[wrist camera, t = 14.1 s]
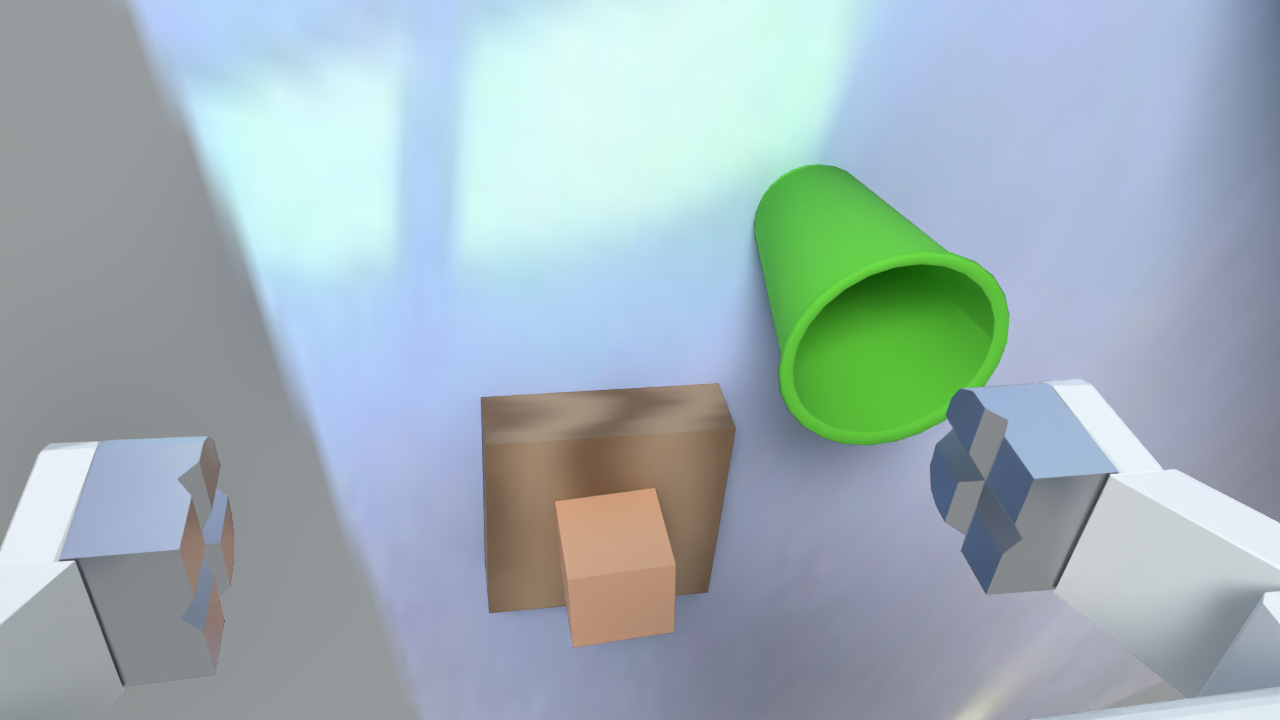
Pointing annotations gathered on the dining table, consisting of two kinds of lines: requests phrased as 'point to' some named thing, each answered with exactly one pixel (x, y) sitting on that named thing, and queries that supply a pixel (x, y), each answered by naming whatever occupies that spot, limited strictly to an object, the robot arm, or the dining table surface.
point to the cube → (616, 567)
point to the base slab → (599, 477)
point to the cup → (870, 310)
